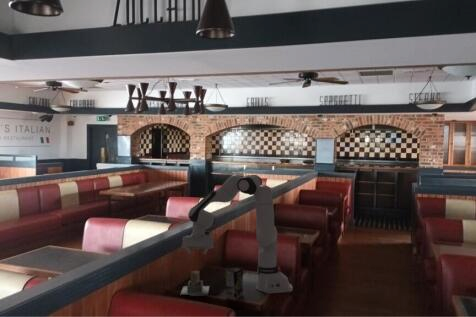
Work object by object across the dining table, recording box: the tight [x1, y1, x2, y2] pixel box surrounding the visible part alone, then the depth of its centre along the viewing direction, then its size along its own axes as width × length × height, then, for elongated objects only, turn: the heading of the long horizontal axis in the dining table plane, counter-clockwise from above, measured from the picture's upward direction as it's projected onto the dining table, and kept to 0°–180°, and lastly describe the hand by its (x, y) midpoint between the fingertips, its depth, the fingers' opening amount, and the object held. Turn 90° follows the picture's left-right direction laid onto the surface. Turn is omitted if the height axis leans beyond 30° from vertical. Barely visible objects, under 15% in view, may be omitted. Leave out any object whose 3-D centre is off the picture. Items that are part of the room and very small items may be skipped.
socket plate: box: [180, 280, 210, 297], centre depth 238 cm, size 16×12×6 cm
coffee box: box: [225, 267, 244, 301], centre depth 229 cm, size 9×6×16 cm
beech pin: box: [190, 270, 201, 285], centre depth 238 cm, size 4×4×11 cm
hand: (197, 254), depth 249 cm, fingers open, 8 cm apart
